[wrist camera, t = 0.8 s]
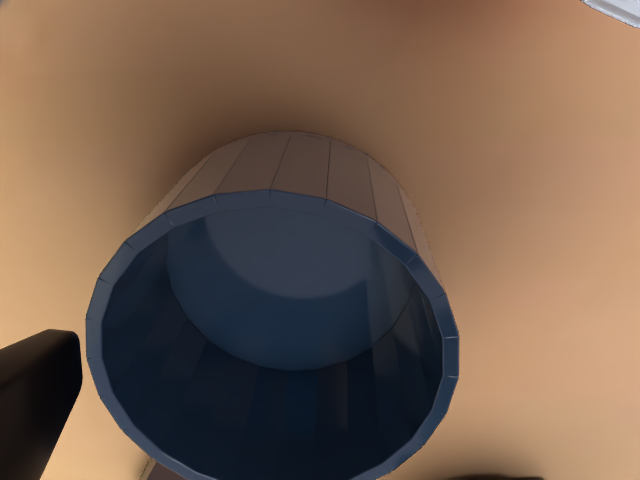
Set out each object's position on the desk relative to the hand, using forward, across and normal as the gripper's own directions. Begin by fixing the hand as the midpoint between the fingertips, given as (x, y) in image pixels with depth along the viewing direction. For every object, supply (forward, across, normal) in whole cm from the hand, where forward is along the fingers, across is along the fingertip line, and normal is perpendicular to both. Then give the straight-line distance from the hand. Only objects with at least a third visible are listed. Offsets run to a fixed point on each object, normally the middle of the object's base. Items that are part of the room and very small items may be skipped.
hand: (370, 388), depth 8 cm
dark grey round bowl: (+13, +2, +4) cm, 14 cm away
